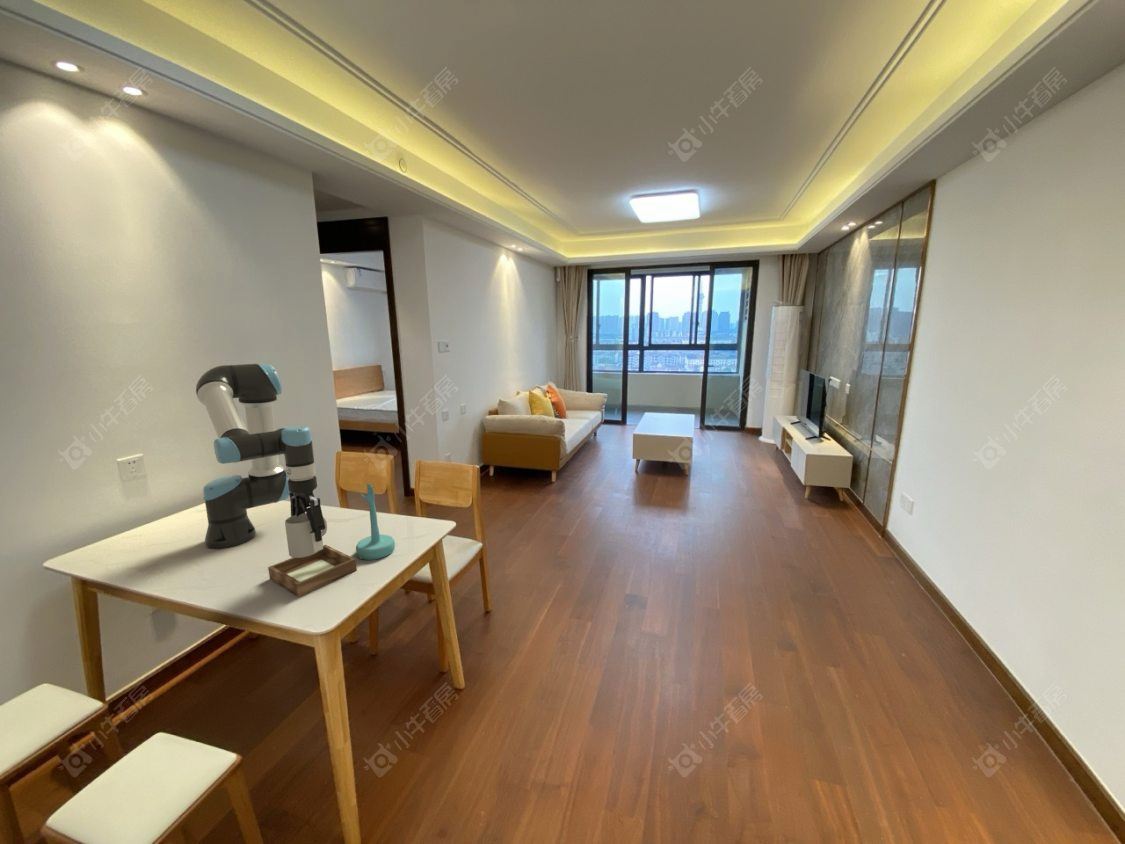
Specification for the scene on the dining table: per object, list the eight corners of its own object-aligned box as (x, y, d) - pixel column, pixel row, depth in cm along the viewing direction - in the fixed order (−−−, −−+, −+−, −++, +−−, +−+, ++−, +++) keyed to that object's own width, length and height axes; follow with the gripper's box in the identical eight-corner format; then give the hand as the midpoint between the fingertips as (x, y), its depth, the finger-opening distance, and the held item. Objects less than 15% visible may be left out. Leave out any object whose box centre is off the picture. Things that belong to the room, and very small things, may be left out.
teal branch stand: (377, 541, 164) (371, 476, 159) (402, 547, 159) (397, 481, 154) (348, 556, 153) (341, 487, 148) (374, 564, 148) (368, 492, 143)
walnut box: (269, 578, 139) (268, 567, 138) (326, 555, 154) (325, 544, 153) (298, 597, 129) (297, 584, 128) (356, 570, 144) (355, 558, 143)
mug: (299, 560, 132) (295, 526, 130) (283, 554, 136) (278, 520, 134) (336, 544, 143) (333, 511, 141) (319, 538, 147) (316, 507, 145)
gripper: (272, 474, 138) (281, 542, 142) (307, 487, 126) (316, 560, 131) (297, 468, 144) (305, 534, 148) (333, 480, 132) (341, 550, 137)
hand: (310, 546), depth 139 cm, fingers closed on mug, 8 cm apart
